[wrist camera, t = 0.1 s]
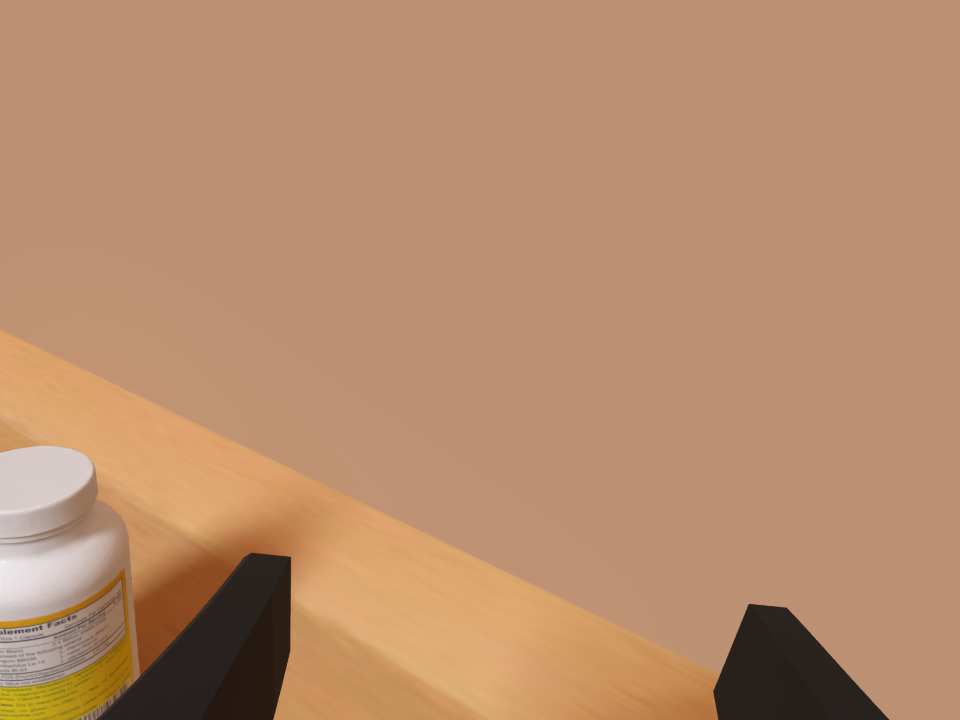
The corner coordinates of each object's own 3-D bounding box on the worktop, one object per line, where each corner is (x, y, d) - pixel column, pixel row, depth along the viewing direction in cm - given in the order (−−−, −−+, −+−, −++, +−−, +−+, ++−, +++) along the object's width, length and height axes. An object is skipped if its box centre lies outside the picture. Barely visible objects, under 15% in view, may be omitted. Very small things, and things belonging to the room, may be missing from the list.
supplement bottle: (2, 665, 35) (-39, 432, 30) (151, 651, 36) (136, 430, 31) (-55, 795, 29) (-118, 533, 24) (127, 771, 31) (103, 523, 26)
